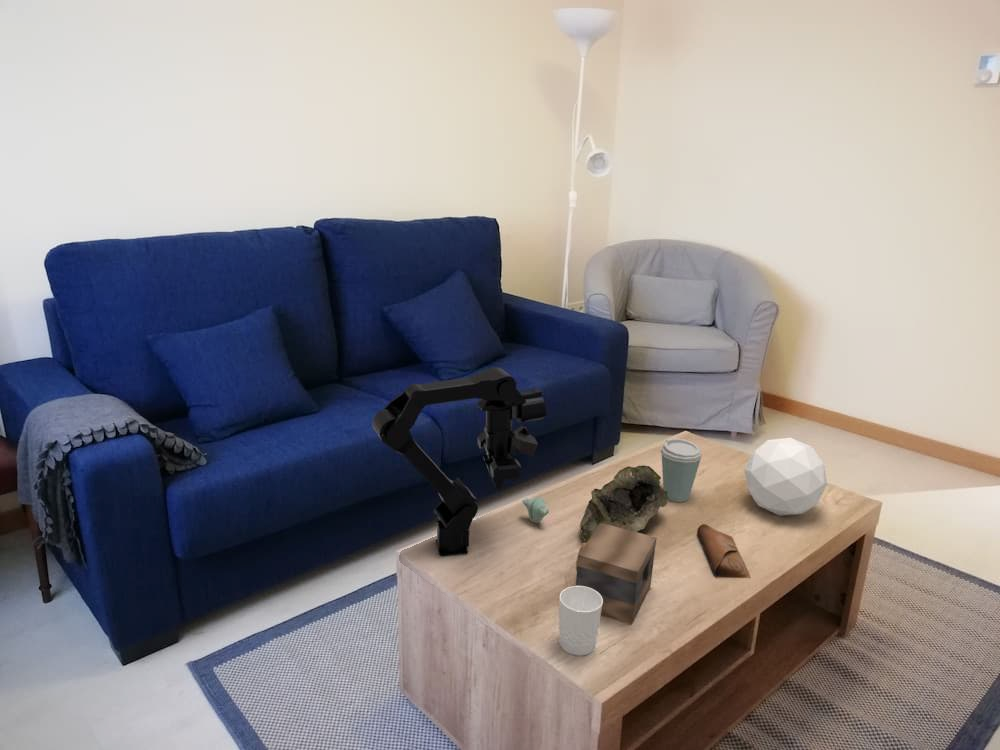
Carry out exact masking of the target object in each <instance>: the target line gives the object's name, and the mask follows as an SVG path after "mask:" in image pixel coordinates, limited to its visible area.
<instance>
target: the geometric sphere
mask: <svg viewBox="0 0 1000 750" xmlns="http://www.w3.org/2000/svg"><path fill="white" fill-rule="evenodd" d="M824 464H825V463H824V462H823V461H822V458H820V456H819V455H818V454H817V452H816V450H815V449H814V448H813V446H811V445H810V444H806V443H804V442H801V441H800V440H797V439H794V438H793V437H785V438H776V439H775V438H773V439H767V440H766V441H764V442H763V443H762V444H761V445H760V446H758V448H756V449H755V450H754V451H753V452H752V454H751V456H750V457H749V459H748V460H747V463H746V465H745V467H744V469H743V472H744V475H745V480H746V485H747V488H748V492H749V493H750V495H751V497H752V498H753V500H754V501H755V503H756V505H757V506H759V507H761V508H762V509H764V510H766V511H768V512H770V513H772V514H775V515H777V516H779V517H782V516H794V515H795V516H796V515H803V514H804V513H806V512H808V511H809V510H810V509H812V508H814V506H816V505H818V504H819V501H820V500H821V498H822V495H823V494H824V492H825V489H826V487H827V486H828V480H827V474H826V470H825V465H824Z"/></svg>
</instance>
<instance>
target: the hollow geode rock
mask: <svg viewBox="0 0 1000 750" xmlns="http://www.w3.org/2000/svg"><path fill="white" fill-rule="evenodd" d="M622 468H623V469H619V471H618V472H617V473H616V474H615V475H614V477H613V480H611V481H609V482H608V483H605V484H604V485H603V486H602V487H601V489H599V488H594V489H593V490H591V492H590V493H591V499H590V500H589V501H588V504H587V505H586V508H585V510H584V514H583V517H582V518H581V521H580V524H579V527H580V529H579V530H580V531H581V536H582V539H583V540H584V542H586V543H587V542H588V540H589V539H590V537H591V536H592V534H593V533H594V532H595V530H596V529H597V527H598V526H599V524H600V523H603V524H607V525H611V526H615V527H619V528H622V529H626V530H630V531H634V532H639V531H641V530H644V529H646V525H647V524H648V522H649V520H650V519H651V518H653V516H655V515H656V514H657V513H658V512H659V510H660V509H661V508H664V507H666V506H667V504H668V500H669V499H668V498H669V497H668V495H667V491H664V489H663V486H662V485H660V483H661V475H659V474H658V473H657V471H655V470H654V469H653V468H652V467H650V466H649V465H638V466H635V467H633V466H625V467H622Z"/></svg>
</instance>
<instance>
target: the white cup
mask: <svg viewBox="0 0 1000 750" xmlns="http://www.w3.org/2000/svg"><path fill="white" fill-rule="evenodd" d="M558 600H559V601H558V603H559V604H558V606H559V607H558V630H559V643H558V644H559V646H560V647H561V648H562V650H563V651H564V652H565V653H568V654H570V655H573V656H578V657H579V656H586V655H588V654H589V655H590V654H591V653H593V651H594V650H595V649H596V646H597V645H596V642H597V637H598V634H599V629H600V622H601V616H602V615H601V611H602V605H603V598H602V596H601V595H600V594H599V593H598V592H597V591H595V590H594V589H592V588H589V587H585V586H576V585H571V586H568V587H566V588H564V589H563V590H561V592H560V593H559V599H558Z"/></svg>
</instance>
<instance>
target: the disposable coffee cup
mask: <svg viewBox="0 0 1000 750" xmlns="http://www.w3.org/2000/svg"><path fill="white" fill-rule="evenodd" d="M659 452H660V454H661V466H662V467H661V468H662V472H661V473H662V488H663V489H664V491H667V495H668V497H669V498H668V500H669V501H671V502H674V503H682V502H683V503H684V502H686V501H688V499H690V496H691V493H692V489H693V485H694V483H695V479H696V475H697V472H698V471H699V470H698V469H699V466H700V462H701V460H702V458H703V450H702V449H701V448H700V447H699V446H698V445H697V443H695V442H692V441H690V440H688V439H683V438H679V437H673V438H672V437H671V438H668V439H665V440H664V441H663V444H662V446H661V447H660V451H659Z"/></svg>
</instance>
